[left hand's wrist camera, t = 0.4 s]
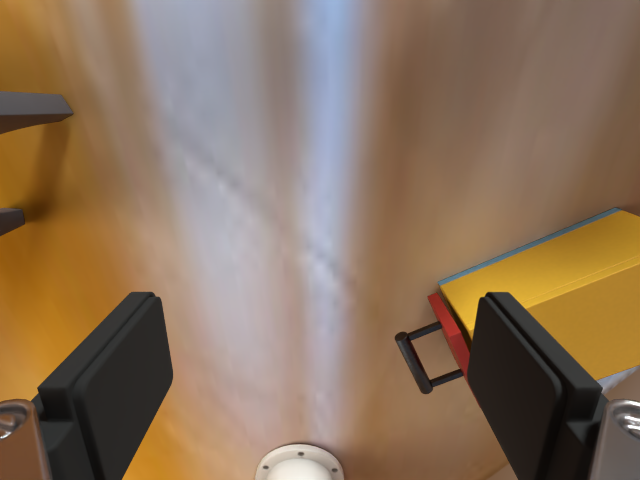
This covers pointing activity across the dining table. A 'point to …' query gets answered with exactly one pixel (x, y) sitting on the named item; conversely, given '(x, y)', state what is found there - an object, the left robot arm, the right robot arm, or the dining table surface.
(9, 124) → the planter
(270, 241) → the dining table surface
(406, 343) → the drawer
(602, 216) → the cabinet
